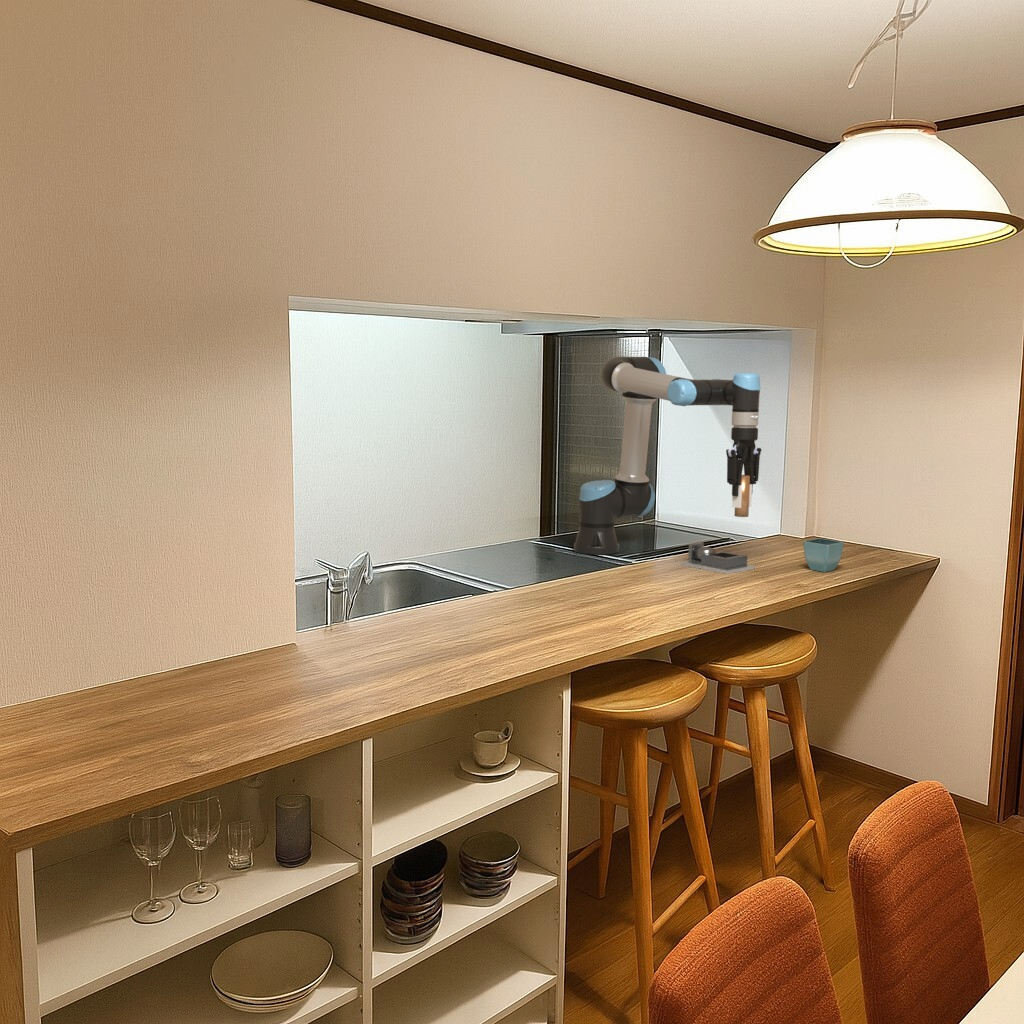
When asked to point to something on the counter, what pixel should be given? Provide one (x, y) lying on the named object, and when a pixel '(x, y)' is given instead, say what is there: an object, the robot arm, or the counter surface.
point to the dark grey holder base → (715, 560)
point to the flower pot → (823, 554)
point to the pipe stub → (744, 497)
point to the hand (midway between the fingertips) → (741, 506)
